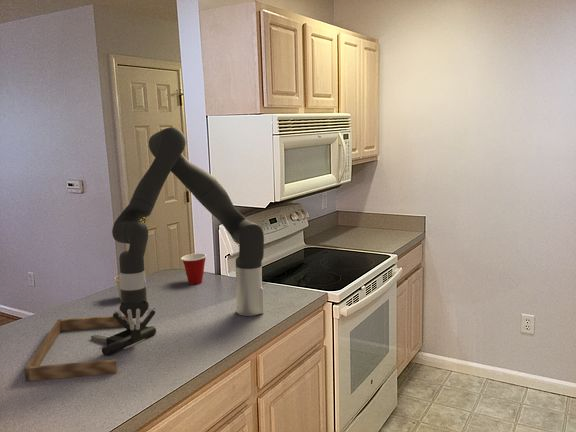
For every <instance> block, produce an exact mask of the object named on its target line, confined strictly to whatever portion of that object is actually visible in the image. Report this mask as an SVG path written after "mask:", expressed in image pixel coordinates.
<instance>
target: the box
mask: <svg viewBox="0 0 576 432" xmlns="http://www.w3.org/2000/svg"><path fill="white" fill-rule="evenodd" d="M122 317H123V318H124V319H125V320H126V321H127V322H128V323H129V319H128V318H127V317H126V316H125V315H124V314H122ZM117 327H118V328H119V327H123V326H122V325H121V324H120V323H119V322H118V321H117V320H116V319H115V318H114V317H113V315H107V316H106V315H105V316H91V317H77V318H65V319H64V318H63V319H57V320H56V322H55V323H54V325H53V326H52V328H51V329H50V331H49V332H48V334H47V335H46V337H45V338H44V340H42V343H41V344H40V346H39V347H38V348H37V350H36V351H35V353H34V354H33V356H32V357H31V358H30V359H29V361H28V363H27V364H26V366H25V367H24V378H25V382H31V381H41V380H43V381H44V380H52V379H53V380H55V379H65V378H77V377H78V378H79V377H85V376H86V377H87V376H98V375H109V374H111V375H112V374H118V365H117V363H118V362H117V359H116V358H115V359H106V360H104V359H103V360H93V361H92V360H91V361H84V362H83V361H82V362H81V361H79V362H70V363H58V364H57V363H55V364H48V365H47V364H46V365H41V363H43V362H42V361H44V359H45V358H46V356H47V355H48V353H49V352H50V350H51V348H52V346H53V345H54V343H55V341H56V340H57V338H58V337H59V335H60V333H61V332H62V331H73V330H88V329H101V328H104V329H105V328H117Z"/></svg>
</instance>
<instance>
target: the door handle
mask: <svg viewBox="0 0 576 432" xmlns="http://www.w3.org/2000/svg"><path fill="white" fill-rule="evenodd" d="M135 327H136V323H135ZM156 333H157V328H156V327H155V326H153V325H150V326H147V325H146V326H145V327H142V328H141V338H140V339H139V340H138V341H133V340H132V339H131V330H130V329H128V328H126V329H124V330H123V331H120V332H118V333H116V334H113V335H111V336H105V335H100V334H97V333H96V334H93V335H91V336H90V339H91V341H94V342H95V341H96V342H98V343H101V344H105V346H104V347H102V349H101V352H102V354H103V355H104V356H105V357H106V356H111V355H113V354H116V353H118V352H120V351H122V350H126V349H128V348H131V347H132V346H134V345H137V344H139V343H142V342H144V341H145V340H146V339H148V338H149V337H153V336H154V335H156Z"/></svg>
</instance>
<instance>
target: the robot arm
mask: <svg viewBox="0 0 576 432" xmlns="http://www.w3.org/2000/svg"><path fill="white" fill-rule="evenodd" d="M186 144H187V143H186V136H185V134H184V133H183V131H181V130H180V129H178V128H176V127H172V126H171V127H166V128H164V129H161V130H160V131H159V130H158V131H157V132H155V133H154V134H152V135H151V136H150V138H149V140H148V148H149V151H150V153H151V154H152V156H153V157H154V159H153V161H152V163H151V165H150V166H149V167H148V169H147V171H146V173H145V174H144V175H143V176H142V177H141V179H140V181H139V182H138V184H137V186H136V187H135V190H134V192H133V193H132V197H131V199H130V201H129V203H128V205H127V206H126V207H125V208H124V209H123V211H122V212H121V213H120V214H119V215H118V217H117V218H116V220H115V221H114V222H113V226H112V229H111V233H112V237H113V239H114V240H115V242H117V243H120V244H129V247H128V250H125V251H122V252H121V253H120V255H119V276H120V284H119V285H120V295H121V299H120V305H119V308H118V309H117V310H115V311H113V314H112V316H113V317H114V318H115V319H116V320H117V321H118V322H119V323H120V324H121V325H122V326H121V327H122V328H124V330H126V328H128V329H130V330H131V339H132V340H133V341H138V340H139V339H140V338H141V328H142V327H145V326H147V325H148V324H149V322H150V321H151V320H152V318H153V317H154V316H155V315H156V311H157V310H156V308H155V307H154V308H153V307H152V306H150V304H149V302H148V298H147V297H148V296H147V280H146V279H147V276H146V271H145V253H146V249H147V244H148V240H149V229H148V227H147V224H146V223H145V222H143V221H141V219H143V218H147V217H149V216H151V214H152V212H153V209H154V207H155V205H156V202H157V200H158V198H159V196H160V193H161V191H162V189H163V187H164V184H165V182H166V180H167V178H168V176H169V174H170V173H172V174H173V175H174V176H175V178H177V179H178V180H179V181H180V182H181V183H182V185H184V187H185V188H186V189H188V191H189V192H190V193H191V194H192V195H193V196H194V198H195V199H196V200H197V201H198V202H199V203H200V204H201V205H202V206H203V207H204V208H205V210H207V211H208V212H209V213H210V214H211V215H212V216H213V217H215V218H216V220H218V221H219V222H220V223H221V224H222V225H223V227H224V228H225V229H226V231H227V232H228V234H229V235H230V237H231V238H232V239H233V241H235V243H236V244H237V245H239V249H238V250H239V251H238V253H239V254H238V256H237V257H236V259H235V289H236V290H235V294H236V297H235V298H236V313H237V314H238V315H239V316H244V317H246V316H247V317H252V316H253V317H254V316H257V315H260V314H261V315H262V314H264V288H263V284H262V283H263V282H262V281H263V279H262V278H263V277H262V275H263V273H262V270H263V268H262V267H263V266H262V263H263V260H264V250H265V236H264V230H263V228H262V227H261V225H259V224H257V223H256V222H253V221H251V220H249V219H248V218H246V217H245V216H244V215H243V214H242V213H241V212H240V211H239V210H238V209H237V208H236V206H235V205H234V204H233V202H232V199H231V198H230V196H229V195H228V192H227V191H226V189H225V188H224V187H223V185H222V184H221V183H220V182H219V181H218V180H217V179H216V178H215V177H214V176H213V175H212V174H211V173H210V172H208V171H206V170H205V169H203V168H201V167H199V166H197V165H196V164H194V163H192V162H191V161H189V159H187V157H185V155H184V154H183V152H184V151H185V149H186V148H185V147H186ZM145 314H147V315H146V317H145V318H144V319H143V320H141V319H142V317H143V316H144V315H145ZM122 315H125V316H126V317H127V318H128V319H129V323H128V322H127V321H126V320H125V319H124V318H123V317H122ZM135 324H136V327H135Z"/></svg>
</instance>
